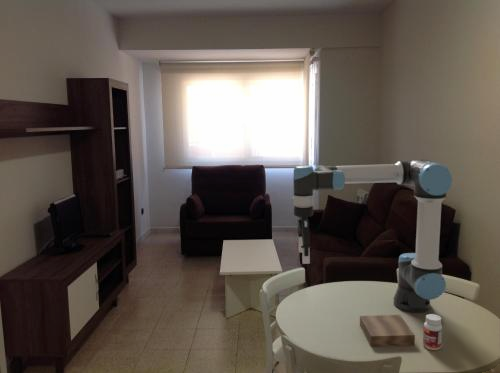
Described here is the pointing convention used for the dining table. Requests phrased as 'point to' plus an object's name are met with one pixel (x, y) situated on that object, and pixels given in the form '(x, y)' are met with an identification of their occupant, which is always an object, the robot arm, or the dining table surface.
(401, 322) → the walnut block
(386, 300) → the dining table surface
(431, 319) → the pill bottle
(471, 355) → the dining table surface
